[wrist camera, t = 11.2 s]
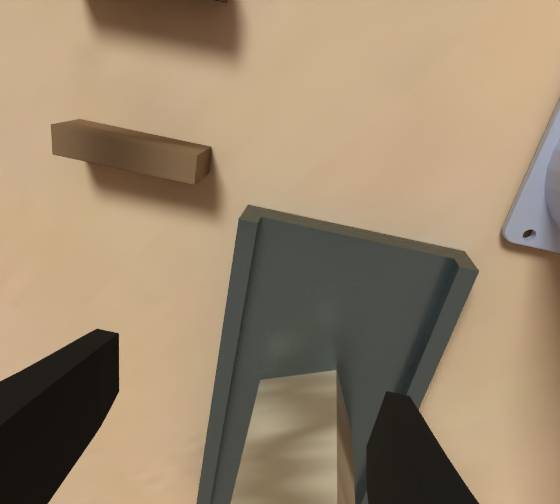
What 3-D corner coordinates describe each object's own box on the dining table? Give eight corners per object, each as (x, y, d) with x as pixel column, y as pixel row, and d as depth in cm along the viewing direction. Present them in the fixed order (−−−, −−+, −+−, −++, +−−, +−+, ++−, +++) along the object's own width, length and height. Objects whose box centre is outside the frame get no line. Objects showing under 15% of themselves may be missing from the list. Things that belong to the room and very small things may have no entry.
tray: (464, 251, 18) (479, 271, 16) (351, 523, 27) (353, 556, 25) (248, 204, 19) (238, 219, 17) (203, 488, 27) (194, 518, 25)
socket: (231, -35, 15) (216, -50, 13) (208, 173, 18) (194, 184, 16) (75, -65, 15) (39, -84, 13) (80, 146, 18) (52, 154, 17)
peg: (336, 370, 20) (337, 505, 14) (351, 429, 22) (358, 576, 15) (260, 379, 21) (228, 511, 15) (280, 436, 23) (258, 578, 16)
